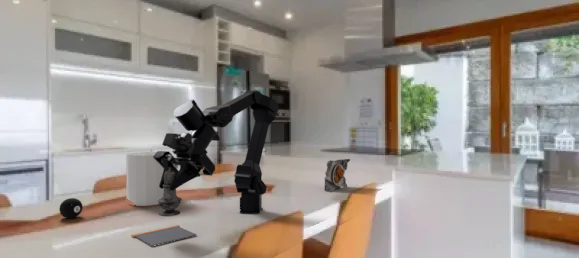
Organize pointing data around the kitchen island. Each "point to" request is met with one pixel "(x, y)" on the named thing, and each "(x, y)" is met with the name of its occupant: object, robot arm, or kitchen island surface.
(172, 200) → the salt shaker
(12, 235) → the kitchen island surface
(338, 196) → the kitchen island surface
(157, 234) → the dough scraper
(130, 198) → the container
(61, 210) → the billiard ball
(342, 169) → the grey square flange bearing
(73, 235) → the kitchen island surface
